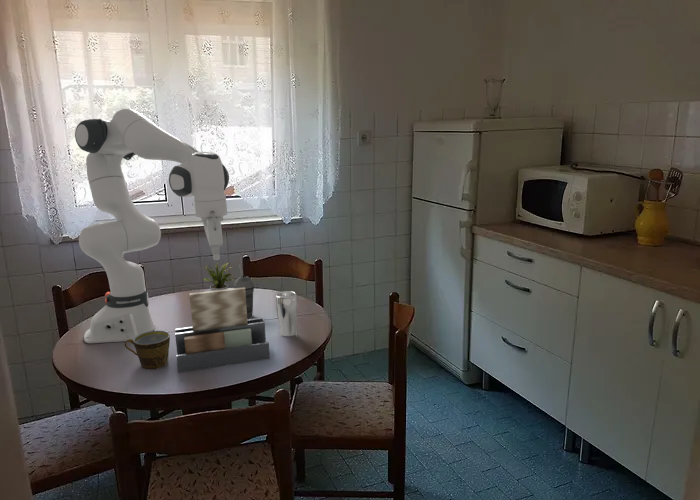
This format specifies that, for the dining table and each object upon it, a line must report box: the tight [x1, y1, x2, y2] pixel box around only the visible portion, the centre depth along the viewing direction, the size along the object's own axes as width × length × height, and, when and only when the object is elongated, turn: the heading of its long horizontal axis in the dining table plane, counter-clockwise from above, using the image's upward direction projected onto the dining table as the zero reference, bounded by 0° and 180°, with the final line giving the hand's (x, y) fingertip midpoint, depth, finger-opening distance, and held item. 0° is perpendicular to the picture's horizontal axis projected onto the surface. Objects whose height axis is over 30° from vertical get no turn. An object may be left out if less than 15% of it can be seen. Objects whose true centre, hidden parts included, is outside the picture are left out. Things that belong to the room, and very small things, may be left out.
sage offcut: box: [224, 328, 252, 348], centre depth 156 cm, size 9×2×8 cm, turn 108°
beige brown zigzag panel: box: [189, 287, 248, 331], centre depth 157 cm, size 16×2×20 cm, turn 108°
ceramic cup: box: [124, 330, 171, 371], centre depth 152 cm, size 13×10×10 cm
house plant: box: [201, 262, 234, 291], centre depth 208 cm, size 14×14×16 cm
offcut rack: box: [174, 317, 271, 373], centre depth 155 cm, size 26×11×10 cm, turn 108°
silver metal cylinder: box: [275, 290, 298, 338], centre depth 172 cm, size 7×7×15 cm
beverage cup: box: [233, 263, 255, 320], centre depth 191 cm, size 7×7×20 cm
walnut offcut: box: [184, 332, 225, 354], centre depth 151 cm, size 11×2×9 cm, turn 108°
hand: (215, 255), depth 153 cm, fingers open, 8 cm apart
